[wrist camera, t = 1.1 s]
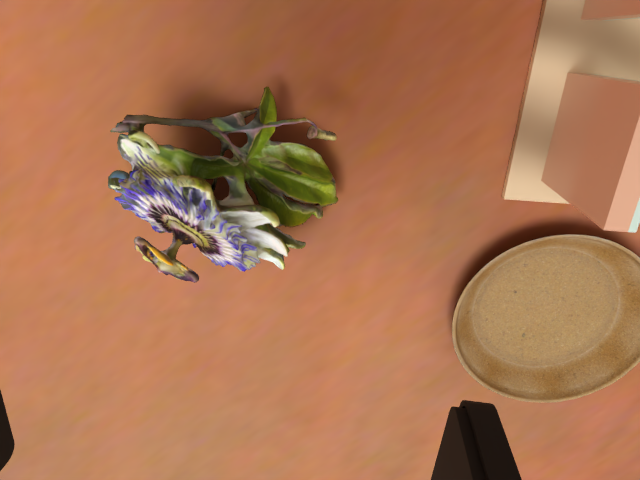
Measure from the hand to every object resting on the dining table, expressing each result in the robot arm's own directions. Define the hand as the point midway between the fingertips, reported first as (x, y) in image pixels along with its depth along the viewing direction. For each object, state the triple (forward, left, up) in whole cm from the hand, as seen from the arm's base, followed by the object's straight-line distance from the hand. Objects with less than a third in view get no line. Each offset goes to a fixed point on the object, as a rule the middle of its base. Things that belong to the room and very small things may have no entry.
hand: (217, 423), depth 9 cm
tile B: (-2, +16, -25) cm, 30 cm away
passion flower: (+2, -6, -26) cm, 27 cm away
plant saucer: (+12, +18, -26) cm, 34 cm away
